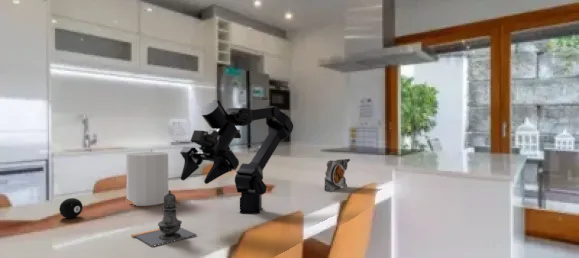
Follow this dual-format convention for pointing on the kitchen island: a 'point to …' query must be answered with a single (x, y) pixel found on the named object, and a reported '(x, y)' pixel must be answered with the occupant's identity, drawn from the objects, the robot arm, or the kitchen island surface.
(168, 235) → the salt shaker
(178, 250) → the kitchen island surface
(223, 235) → the kitchen island surface
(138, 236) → the dough scraper
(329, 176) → the grey square flange bearing
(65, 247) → the kitchen island surface
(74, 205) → the billiard ball
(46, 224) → the kitchen island surface
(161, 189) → the container
